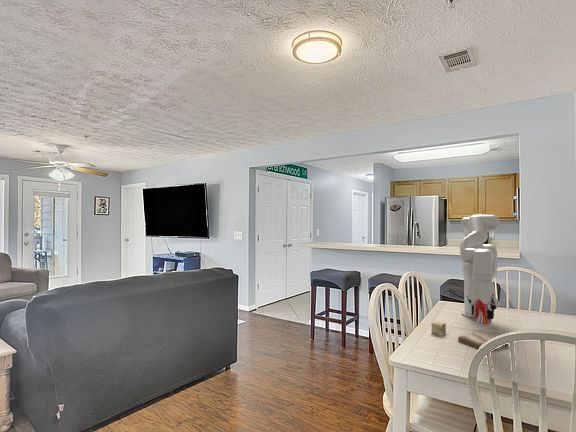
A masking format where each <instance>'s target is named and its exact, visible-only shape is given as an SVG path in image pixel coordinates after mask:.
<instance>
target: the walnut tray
mask: <svg viewBox="0 0 576 432" xmlns="http://www.w3.org/2000/svg"><path fill="white" fill-rule="evenodd" d="M492 338H494V337H493V336H489V335H486V334H484V333H481V332H476V333H475V332H474V333H470V334H466V335H465V334H464V335H459V336H458V337H457V339H458V342H459V343H463V344H465V345H467V346H471V347H472V348H476V349H478V348H479V347H480V346H481V345H482V344H484V343H485V342H487V341H488V340H490V339H492ZM507 346H508V347H509V343H508V344H505V345H503V346H501V347H499V348H501V349H503V348H502V347H505V348H508V347H507ZM499 348H497V350H500V349H499ZM497 350H496V349H495V350H494V351H497Z"/></svg>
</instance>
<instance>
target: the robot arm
mask: <svg viewBox="0 0 576 432" xmlns="http://www.w3.org/2000/svg"><path fill="white" fill-rule="evenodd" d="M500 222H501V221H500V219H499V217H498V215H495V214H474V215H471V216H467V217H463V218H461V220H460V227H461V229H462V231H463V234H464V236H465V237H464V238H463V239H462V240H461V243H460V245H459V258H460V260H461V262H462V263H463V264H462V273H463V274H462V275H463V282H464V286H463V289H464V292H463V295H464V300H463V302H464V303H463V304H464V306H463V307H464V308H463V309H464V310H462V311H461V313H460V314H461V315H462V316H464V317H467V318H473V319H474V301H475V300H476V299H479V300H481V301H482V303H483V304H487V307H488V309H489V310H488V311H487V318H488V319H489V320H490V319H492V320H493V319H495V318H494V317H495V310H496V309H498V307H499V306H500V305H501V302H500V301H499V299H497V297H496V289H495V284H494V281H493V280H494V279H495V278H496V277H497V275H498V250H497V247H496V246H495V245H494V244H486V243H485V242H486V241H487V240H488V238H489V233H495V232H497V231H499V229H500ZM477 297H478V298H477ZM490 304H491V306H490Z"/></svg>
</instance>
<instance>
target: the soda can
mask: <svg viewBox="0 0 576 432" xmlns="http://www.w3.org/2000/svg"><path fill="white" fill-rule="evenodd" d="M477 298H478V297H477ZM490 306H491V304H490ZM488 310H489V309H488V307H487V304H483V303H482V301H481V300H479V299H476V300H475V301H474V318H473V321H474V322H475V323H476V324H477V325H480V326H489V325H491V324H492V320H493V319H490V320H489V319H488V318H487V311H488Z"/></svg>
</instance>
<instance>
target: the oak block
mask: <svg viewBox="0 0 576 432" xmlns="http://www.w3.org/2000/svg"><path fill="white" fill-rule="evenodd" d="M446 324H447V323H446V322H443V321H437V320H435V321H433V322H431V333H432V334H434V335H438V336H443V335H445V334H446V332H447V325H446Z"/></svg>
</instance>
